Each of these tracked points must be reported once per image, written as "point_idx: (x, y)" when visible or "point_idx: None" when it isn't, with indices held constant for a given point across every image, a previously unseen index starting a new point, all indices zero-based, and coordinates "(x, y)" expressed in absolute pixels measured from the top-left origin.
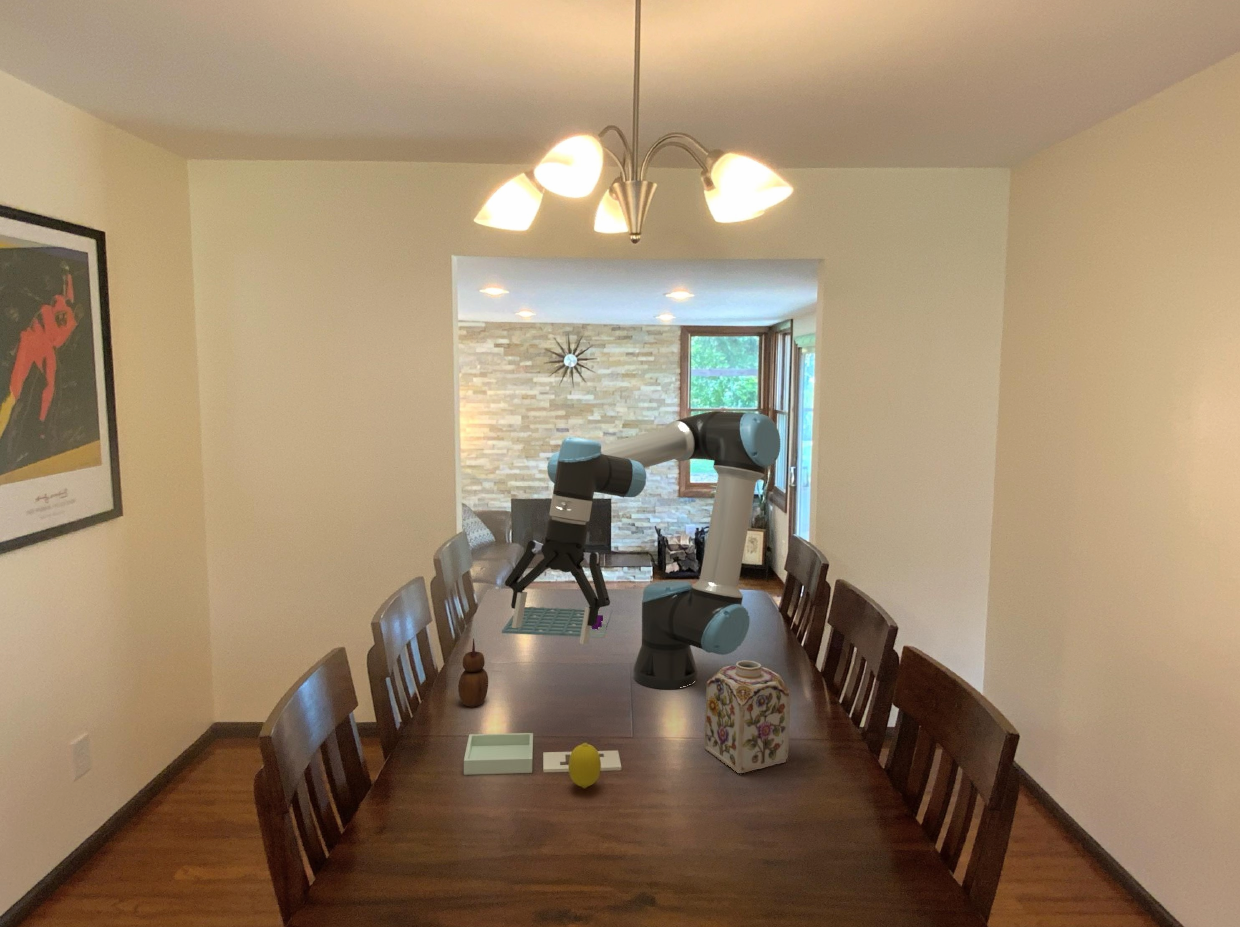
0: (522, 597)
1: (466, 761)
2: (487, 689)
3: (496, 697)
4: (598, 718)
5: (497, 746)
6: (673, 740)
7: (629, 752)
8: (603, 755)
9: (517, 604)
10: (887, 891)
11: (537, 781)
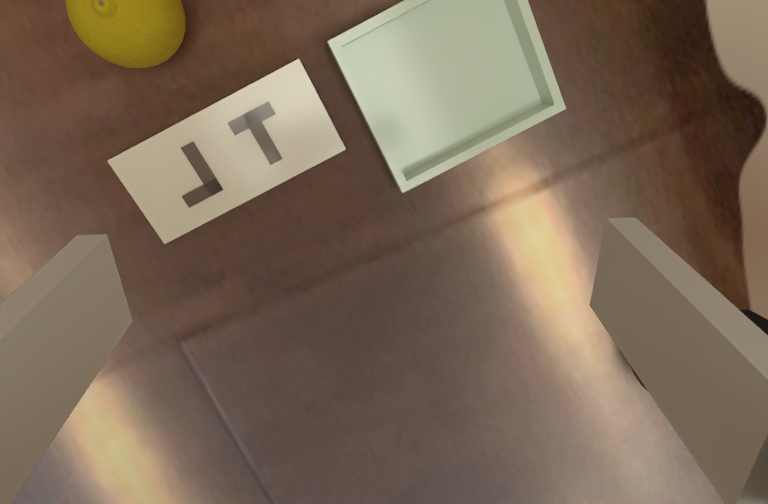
0: (732, 400)
1: None
2: (634, 371)
3: (604, 386)
4: (310, 394)
5: (476, 128)
6: None
7: (142, 260)
8: (183, 197)
9: (722, 315)
10: None
11: (289, 4)
